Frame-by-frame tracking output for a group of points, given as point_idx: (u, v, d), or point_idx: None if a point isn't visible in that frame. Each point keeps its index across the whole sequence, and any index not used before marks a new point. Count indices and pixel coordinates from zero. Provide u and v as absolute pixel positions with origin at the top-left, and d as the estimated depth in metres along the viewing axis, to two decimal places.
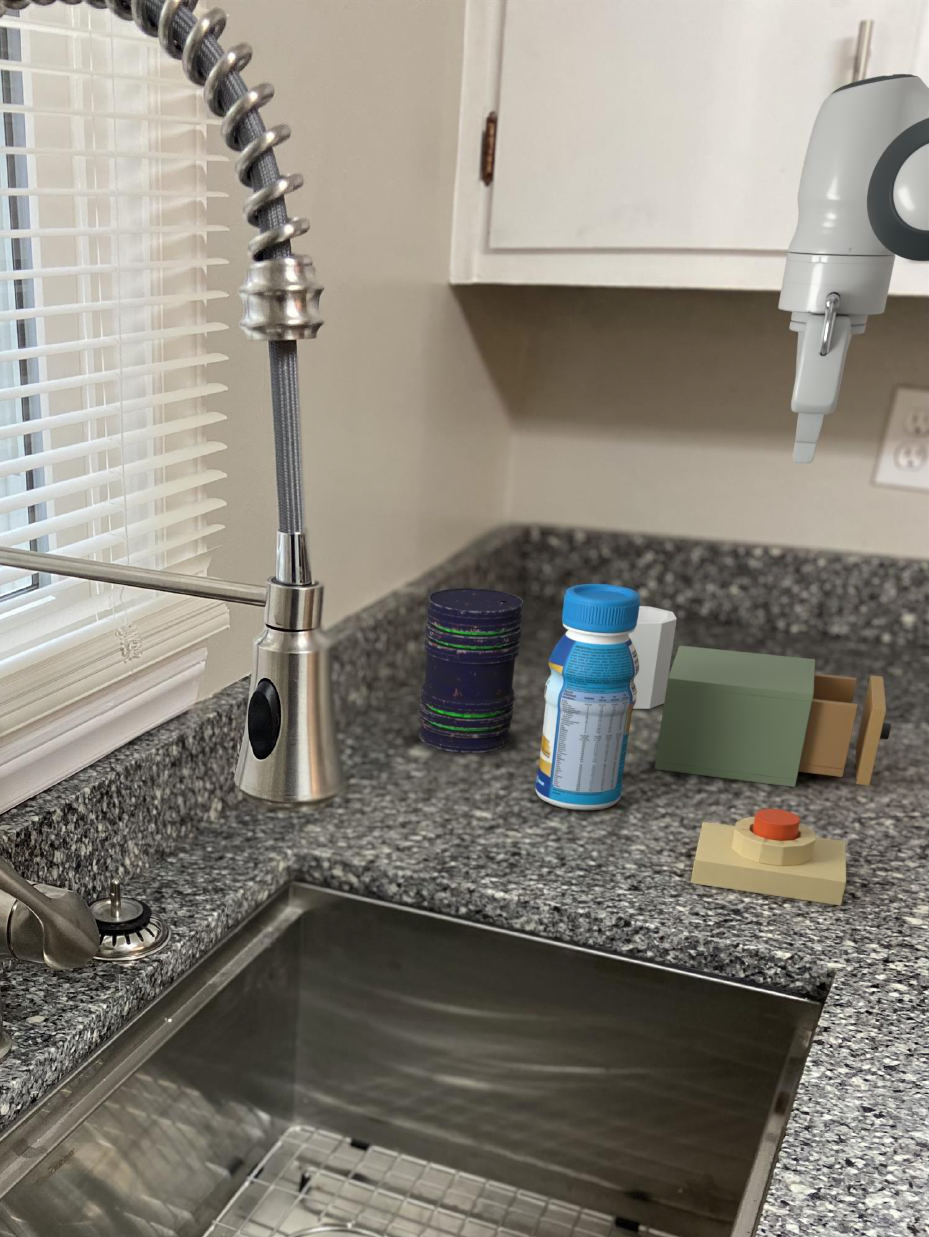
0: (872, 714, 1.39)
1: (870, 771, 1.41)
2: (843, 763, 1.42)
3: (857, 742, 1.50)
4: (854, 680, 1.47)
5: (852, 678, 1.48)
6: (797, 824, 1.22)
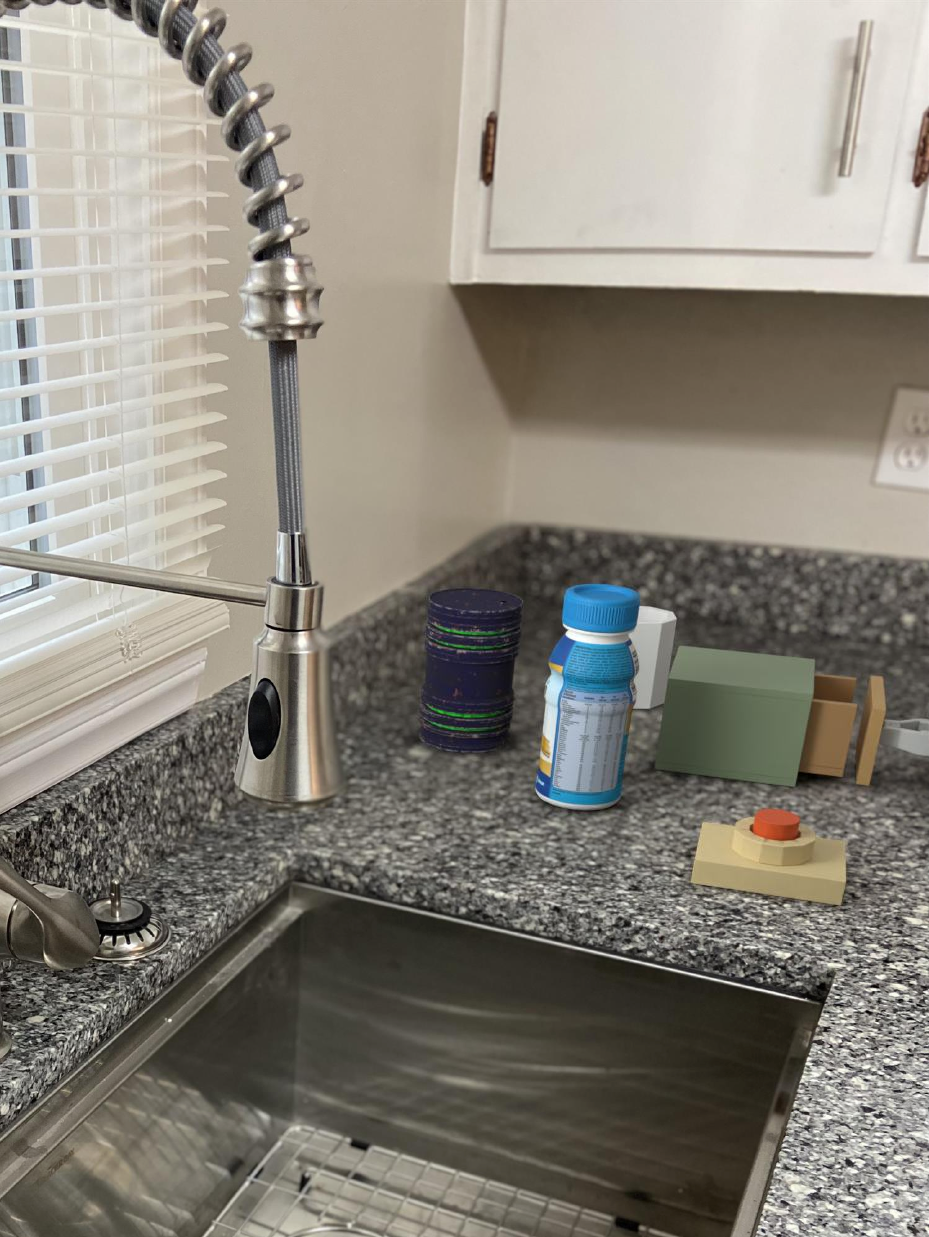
0: (872, 714, 1.39)
1: (870, 771, 1.41)
2: (843, 763, 1.42)
3: (857, 742, 1.50)
4: (854, 680, 1.47)
5: (852, 678, 1.48)
6: (797, 824, 1.22)
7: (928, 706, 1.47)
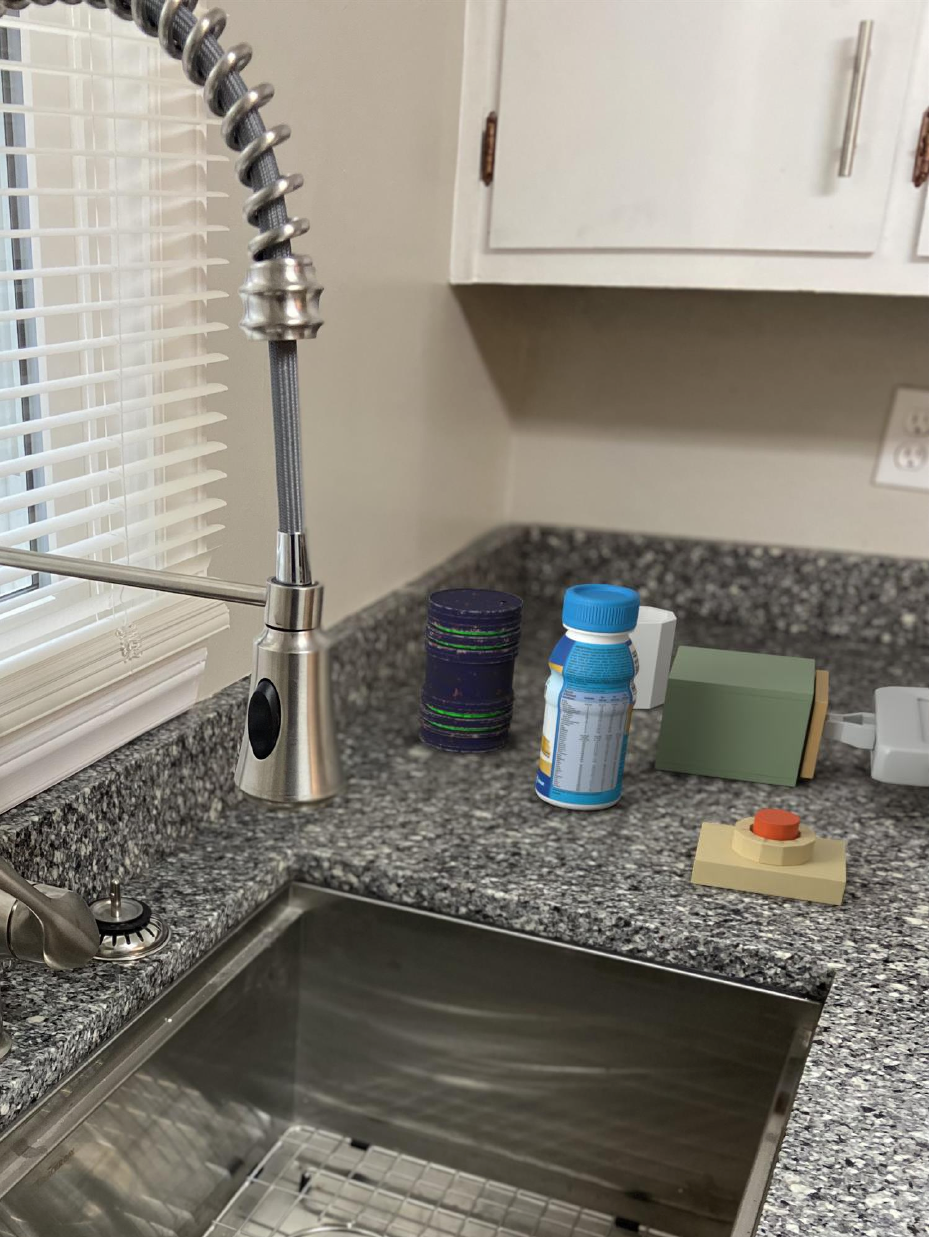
0: (814, 708, 1.40)
1: (813, 764, 1.43)
2: None
3: None
4: None
5: None
6: (797, 824, 1.22)
7: (873, 700, 1.49)
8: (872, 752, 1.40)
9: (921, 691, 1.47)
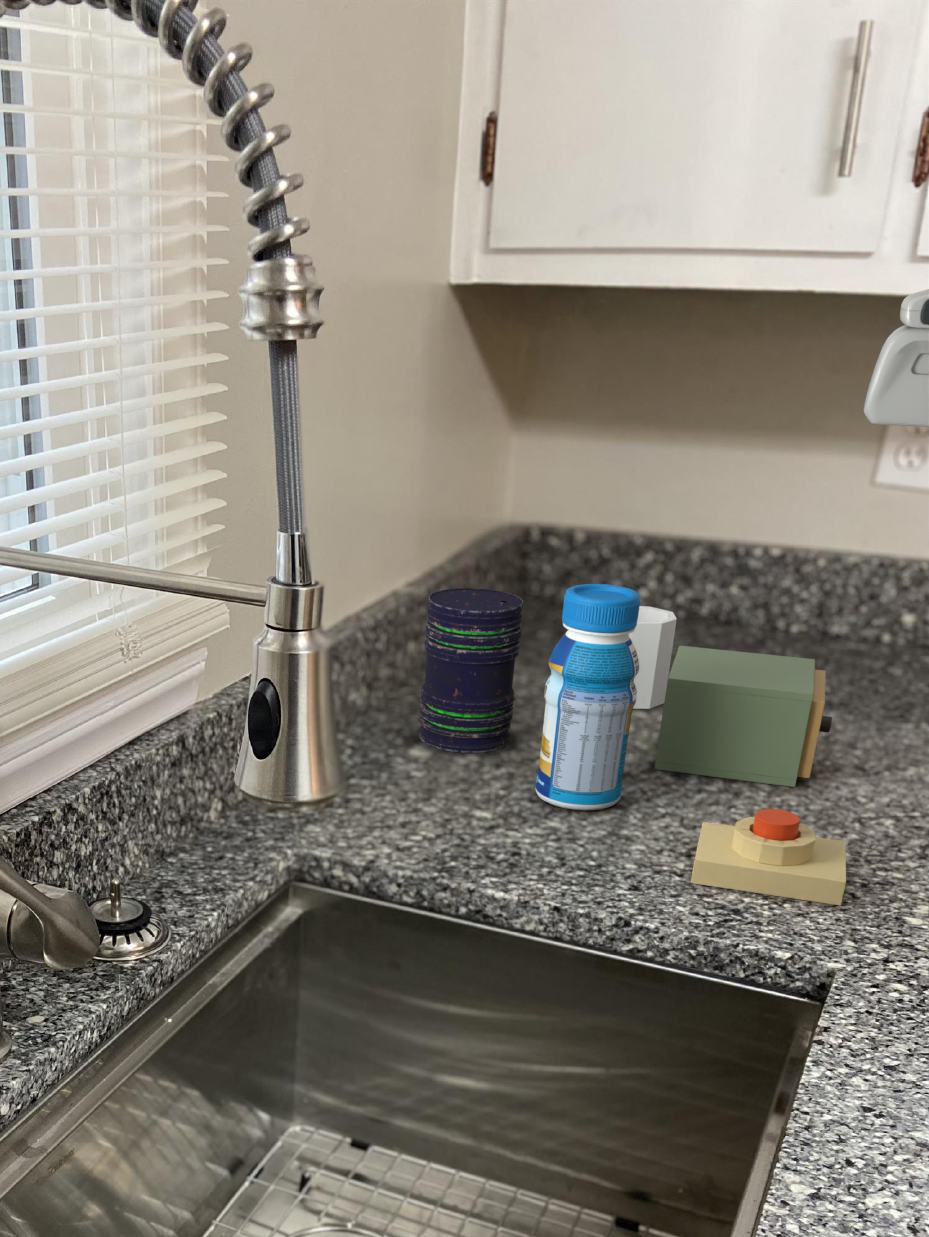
0: (811, 707, 1.40)
1: (810, 764, 1.43)
2: None
3: None
4: None
5: None
6: (797, 824, 1.22)
7: None
8: None
9: (895, 369, 1.15)
